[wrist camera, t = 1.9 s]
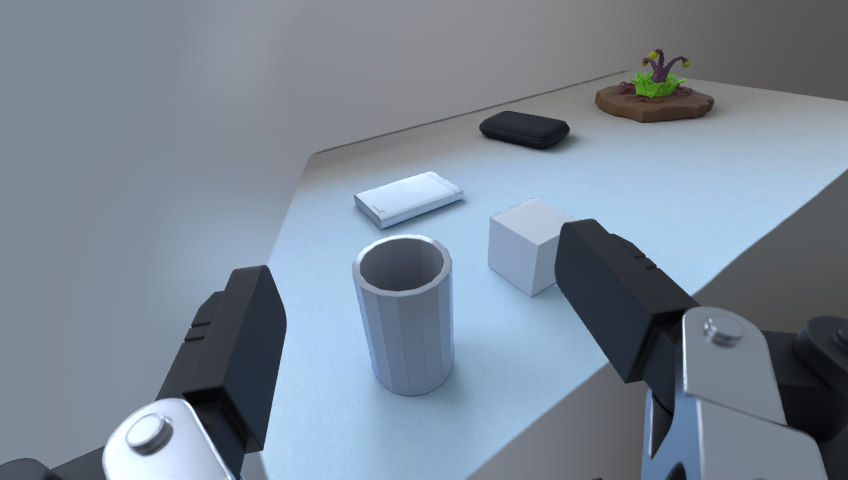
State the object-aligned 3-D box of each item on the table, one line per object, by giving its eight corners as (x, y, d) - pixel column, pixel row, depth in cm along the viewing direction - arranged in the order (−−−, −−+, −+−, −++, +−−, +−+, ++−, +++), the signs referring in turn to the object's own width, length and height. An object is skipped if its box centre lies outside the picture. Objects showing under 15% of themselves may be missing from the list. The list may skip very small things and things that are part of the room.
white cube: (530, 297, 35) (538, 245, 32) (487, 265, 39) (489, 217, 36) (572, 272, 38) (583, 221, 34) (528, 244, 42) (533, 197, 38)
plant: (577, 101, 85) (587, 47, 78) (648, 90, 89) (662, 37, 83) (645, 128, 69) (664, 62, 63) (727, 112, 73) (753, 49, 67)
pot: (361, 388, 28) (336, 289, 22) (387, 324, 33) (371, 231, 28) (445, 403, 27) (441, 302, 21) (458, 334, 32) (458, 238, 26)
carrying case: (575, 135, 68) (505, 121, 77) (578, 118, 66) (507, 105, 75) (546, 153, 62) (474, 136, 71) (548, 135, 60) (474, 120, 69)
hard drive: (380, 219, 45) (463, 188, 50) (353, 193, 51) (429, 168, 56) (382, 230, 46) (463, 199, 51) (355, 204, 52) (430, 178, 57)
